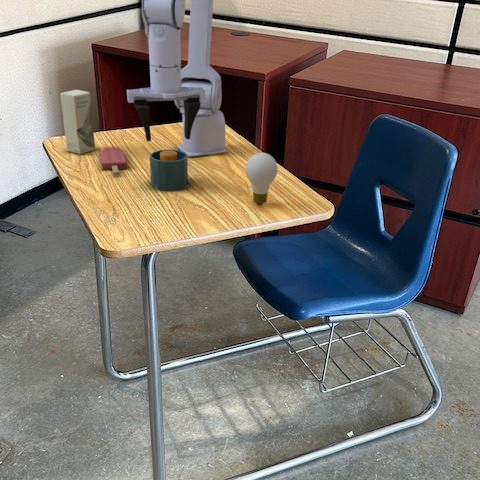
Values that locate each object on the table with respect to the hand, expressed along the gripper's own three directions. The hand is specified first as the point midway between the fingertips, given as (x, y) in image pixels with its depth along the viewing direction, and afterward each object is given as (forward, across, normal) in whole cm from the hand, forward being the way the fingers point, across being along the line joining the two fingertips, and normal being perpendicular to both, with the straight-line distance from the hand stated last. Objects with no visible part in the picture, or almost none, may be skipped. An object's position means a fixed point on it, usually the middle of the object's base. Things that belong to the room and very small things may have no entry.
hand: (168, 138), depth 118 cm
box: (+10, -16, +25) cm, 31 cm away
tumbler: (+9, 0, 0) cm, 9 cm away
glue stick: (+9, 0, 0) cm, 9 cm away
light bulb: (+10, +15, -14) cm, 23 cm away
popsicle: (+10, -10, +14) cm, 19 cm away
